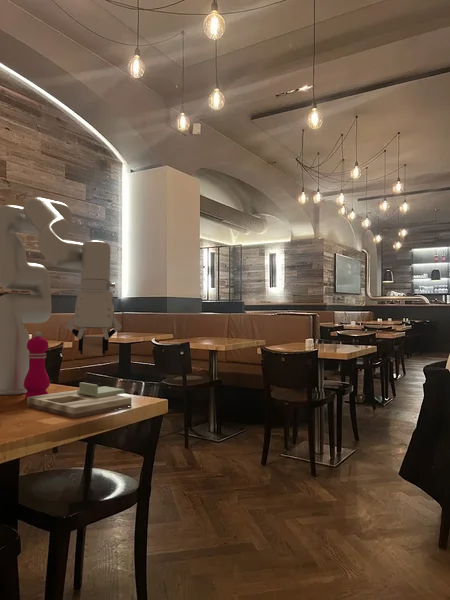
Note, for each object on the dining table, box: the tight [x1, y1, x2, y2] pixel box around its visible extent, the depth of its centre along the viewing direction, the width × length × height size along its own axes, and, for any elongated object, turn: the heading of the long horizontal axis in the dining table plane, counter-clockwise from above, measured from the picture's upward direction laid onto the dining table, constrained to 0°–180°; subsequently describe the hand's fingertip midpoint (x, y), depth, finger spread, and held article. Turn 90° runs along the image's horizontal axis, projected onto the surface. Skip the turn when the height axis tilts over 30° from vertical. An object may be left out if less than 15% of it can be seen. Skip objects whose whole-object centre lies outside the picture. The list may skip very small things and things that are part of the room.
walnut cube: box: [81, 335, 104, 357], centre depth 123 cm, size 5×5×5 cm
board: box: [26, 389, 133, 419], centre depth 125 cm, size 22×18×2 cm
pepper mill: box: [24, 331, 51, 401], centre depth 137 cm, size 7×7×20 cm
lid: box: [76, 382, 125, 398], centre depth 131 cm, size 9×10×3 cm
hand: (93, 353), depth 123 cm, fingers closed on walnut cube, 5 cm apart
